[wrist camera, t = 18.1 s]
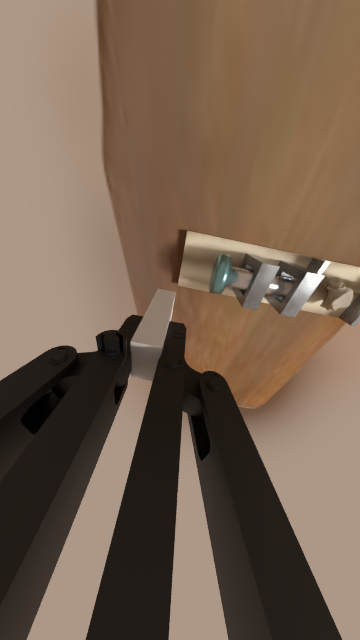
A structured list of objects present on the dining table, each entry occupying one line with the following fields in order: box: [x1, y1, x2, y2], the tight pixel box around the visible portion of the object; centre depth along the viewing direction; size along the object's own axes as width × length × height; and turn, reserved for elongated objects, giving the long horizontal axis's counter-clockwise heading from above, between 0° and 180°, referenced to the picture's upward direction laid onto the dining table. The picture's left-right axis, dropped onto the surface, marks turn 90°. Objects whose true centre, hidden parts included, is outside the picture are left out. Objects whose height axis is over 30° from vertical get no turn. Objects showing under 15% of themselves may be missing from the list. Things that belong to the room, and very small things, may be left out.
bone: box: [320, 277, 360, 311], centre depth 26 cm, size 9×6×10 cm
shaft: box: [209, 253, 296, 298], centre depth 25 cm, size 16×6×6 cm, turn 80°
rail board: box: [178, 231, 360, 317], centre depth 30 cm, size 10×36×2 cm, turn 80°
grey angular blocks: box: [232, 253, 360, 326], centre depth 27 cm, size 10×25×9 cm, turn 80°
